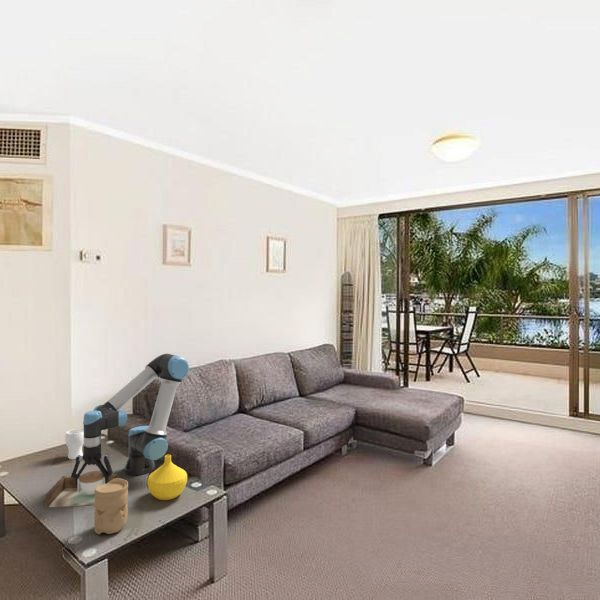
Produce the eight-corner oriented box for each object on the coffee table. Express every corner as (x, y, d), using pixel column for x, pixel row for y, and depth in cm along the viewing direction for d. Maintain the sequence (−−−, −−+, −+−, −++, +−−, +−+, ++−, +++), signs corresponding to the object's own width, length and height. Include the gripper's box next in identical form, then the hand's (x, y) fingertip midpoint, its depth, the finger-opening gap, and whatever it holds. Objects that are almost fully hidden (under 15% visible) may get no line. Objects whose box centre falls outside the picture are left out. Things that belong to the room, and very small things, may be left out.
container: (87, 532, 169) (87, 489, 169) (111, 517, 181) (111, 476, 181) (111, 540, 165) (111, 494, 164) (134, 523, 177) (134, 481, 176)
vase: (146, 490, 206) (146, 451, 206) (184, 483, 213) (184, 446, 213) (148, 508, 189) (148, 466, 189) (189, 500, 196) (190, 460, 196)
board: (118, 486, 210) (118, 484, 209) (106, 504, 192) (106, 503, 192) (62, 488, 206) (62, 487, 206) (45, 507, 188) (45, 506, 188)
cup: (73, 452, 250) (73, 427, 250) (89, 453, 249) (89, 428, 248) (60, 459, 240) (60, 433, 239) (77, 461, 238) (77, 435, 238)
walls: (118, 486, 210) (118, 474, 209) (106, 504, 192) (106, 491, 192) (62, 488, 206) (62, 476, 206) (45, 507, 188) (45, 494, 188)
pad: (112, 487, 206) (112, 487, 206) (102, 502, 192) (102, 501, 192) (81, 489, 204) (81, 488, 204) (70, 503, 190) (70, 503, 190)
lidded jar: (74, 493, 197) (74, 473, 196) (96, 484, 206) (96, 465, 206) (87, 499, 191) (87, 479, 191) (109, 490, 200) (109, 470, 200)
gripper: (120, 440, 203) (119, 485, 204) (69, 442, 200) (69, 488, 200) (115, 446, 196) (115, 493, 196) (62, 448, 192) (62, 495, 193)
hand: (92, 490), depth 198 cm, fingers closed on lidded jar, 11 cm apart
